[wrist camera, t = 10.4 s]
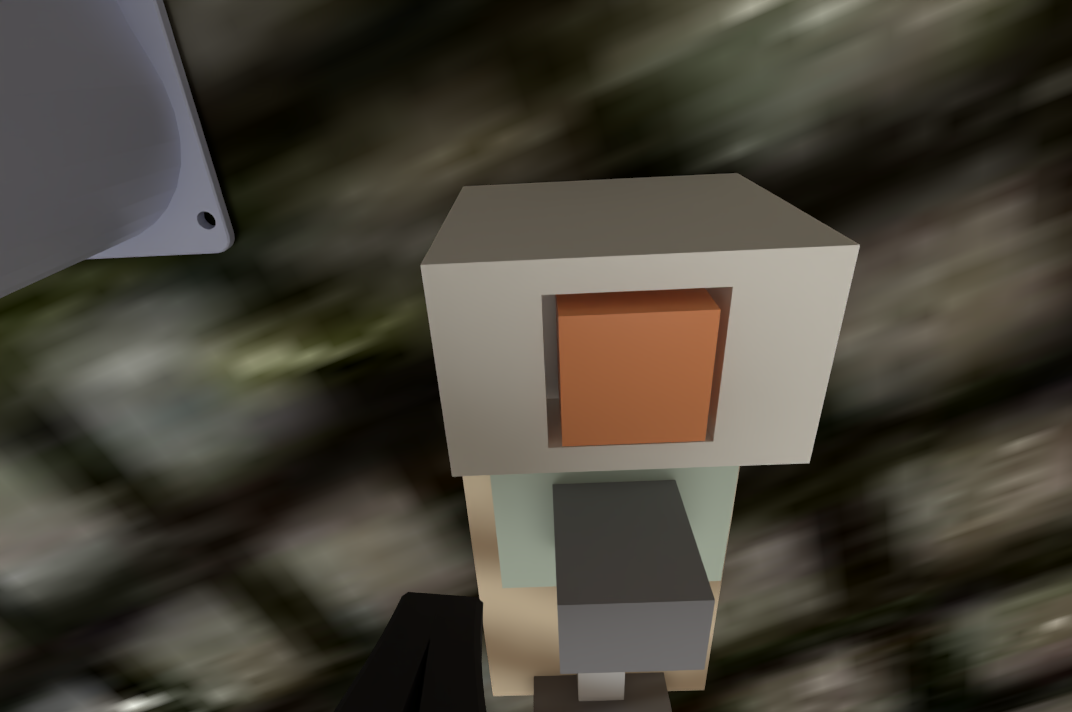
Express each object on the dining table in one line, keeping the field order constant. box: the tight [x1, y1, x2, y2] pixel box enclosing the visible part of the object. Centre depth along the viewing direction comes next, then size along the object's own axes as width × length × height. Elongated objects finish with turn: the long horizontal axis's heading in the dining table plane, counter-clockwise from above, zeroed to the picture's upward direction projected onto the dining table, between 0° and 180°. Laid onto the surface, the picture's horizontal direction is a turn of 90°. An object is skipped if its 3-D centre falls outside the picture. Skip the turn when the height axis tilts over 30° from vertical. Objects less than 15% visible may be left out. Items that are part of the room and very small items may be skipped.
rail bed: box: [463, 466, 740, 712], centre depth 21 cm, size 19×10×4 cm, turn 3°
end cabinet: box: [420, 173, 860, 477], centre depth 14 cm, size 5×8×7 cm, turn 93°
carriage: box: [490, 466, 739, 674], centre depth 16 cm, size 6×7×7 cm
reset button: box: [555, 288, 721, 446], centre depth 12 cm, size 3×3×2 cm
